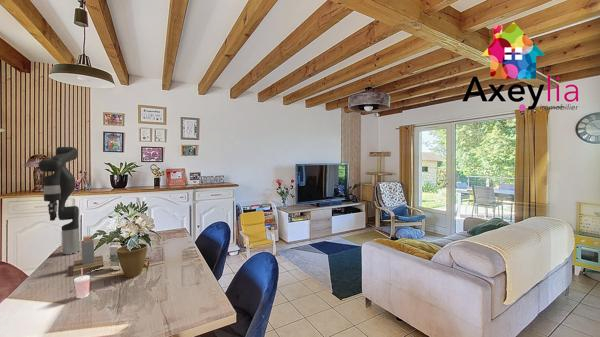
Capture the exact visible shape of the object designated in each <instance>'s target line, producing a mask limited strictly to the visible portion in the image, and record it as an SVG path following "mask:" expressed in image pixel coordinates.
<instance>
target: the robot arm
mask: <svg viewBox="0 0 600 337" xmlns="http://www.w3.org/2000/svg"><path fill="white" fill-rule="evenodd" d="M78 152H79V151H78V148H76V147H74V146H57V147H56V149H55V155H53V156H51V157H49V158H44V159H42V160H40V161H39V162H38V169H39V170H40V171H41V172H44V173H45V172H46V173H47V172H48V173H50V172H52V174H51V175H50V174H49V175H45V176H43V200H44V202H49V203H48V204H47V207H48V215H49V221H51V222H53V221H56V219H58V220H59V221H68V220H69V221H70V220H71V221H70V222H68V223H66V224H64V225H62V226H61V244H62V247H61V248H62V255H63V254H71V255H73V254H72V253H75V254H77V253H76V252H78V251H81V246H80V245H81V244H80V224H79V222H80V220H79V219H80V217H79V216H80V209H79V207H78V206H77V205H70V206H68V205H67V206H66V202H67V200H68V198H69V197H70V196H71V194H72V193H73V192H74V190H75V189H76V178H75V176H74V175H73V173H72V172H70V170H69V169H68V167H67V165H66V163H68V162H71V161H74V160H76V159H77V158H78V154H79V153H78ZM57 201H58V202H57ZM78 253H79V252H78Z"/></svg>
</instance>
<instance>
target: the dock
mask: <svg viewBox="0 0 600 337" xmlns="http://www.w3.org/2000/svg"><path fill="white" fill-rule="evenodd" d="M73 262H74V263H73V268H72V276H73V275H76V276H78V275H77V274H81V268H82V269H83V273H85V274H88V273H87V272H90V273H92V272H91V271H92V270H95V269H98V268H100V267H103V266H104V267H105V265H104V257H103V254H101V255H94V263H91V264H86V265H83V264H82V258H81V259H80V258H79V259H74V261H73Z"/></svg>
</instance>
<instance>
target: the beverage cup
mask: <svg viewBox="0 0 600 337" xmlns="http://www.w3.org/2000/svg"><path fill="white" fill-rule="evenodd" d="M90 279H91V275H90V274H89V275H88V274H86V275H84V274H83V269H82V268H81V275H79V276H77V277H76V278H74V280H73V282H74V285H75V286H74V287H75V293H76V294H75V295H76V299H77V298H81V299H85V298H87V297H88V295H89V296H90V284H91V283H90ZM84 297H85V298H84Z"/></svg>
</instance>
